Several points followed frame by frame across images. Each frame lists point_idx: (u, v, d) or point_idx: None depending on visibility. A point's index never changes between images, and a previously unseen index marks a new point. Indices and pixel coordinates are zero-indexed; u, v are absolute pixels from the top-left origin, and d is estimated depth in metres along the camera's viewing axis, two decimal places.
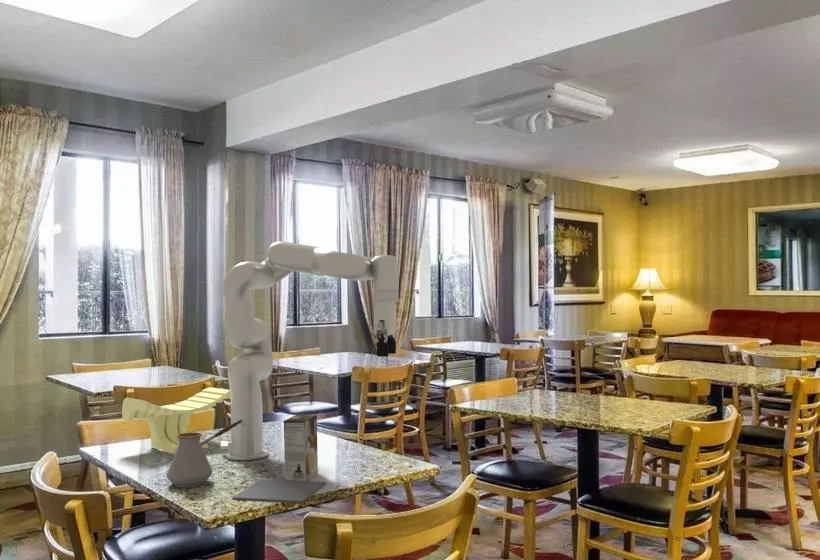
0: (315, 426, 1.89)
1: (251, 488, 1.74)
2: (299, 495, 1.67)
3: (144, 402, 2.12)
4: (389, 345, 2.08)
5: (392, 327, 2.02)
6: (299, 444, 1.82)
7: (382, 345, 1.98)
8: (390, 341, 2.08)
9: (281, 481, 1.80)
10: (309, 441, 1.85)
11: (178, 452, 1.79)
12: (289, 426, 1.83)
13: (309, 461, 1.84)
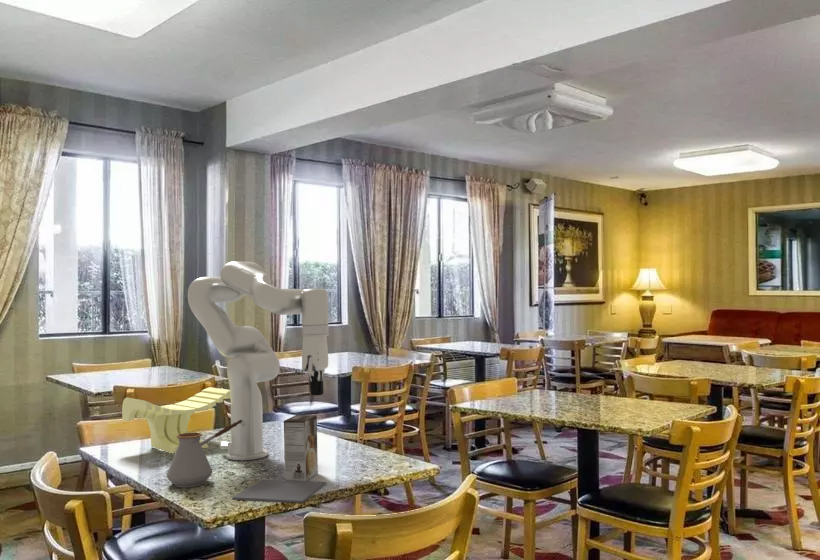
0: (315, 426, 1.89)
1: (251, 488, 1.74)
2: (299, 495, 1.67)
3: (144, 402, 2.12)
4: None
5: (322, 362, 1.97)
6: (299, 444, 1.82)
7: (316, 384, 1.97)
8: None
9: (281, 481, 1.80)
10: (309, 441, 1.85)
11: (178, 452, 1.79)
12: (289, 426, 1.83)
13: (309, 461, 1.84)
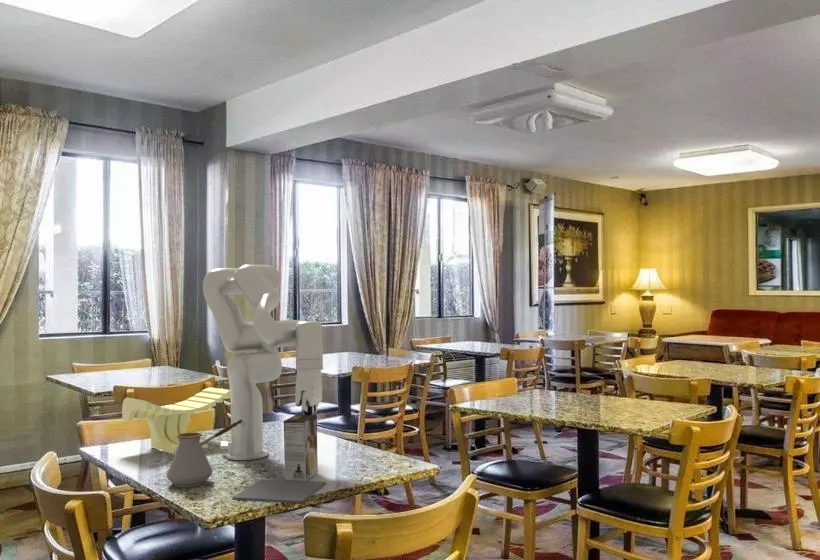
0: (315, 426, 1.89)
1: (251, 488, 1.74)
2: (299, 495, 1.67)
3: (144, 402, 2.12)
4: None
5: (316, 397, 1.92)
6: (299, 444, 1.82)
7: None
8: None
9: (281, 481, 1.80)
10: (309, 441, 1.84)
11: (178, 452, 1.79)
12: (289, 426, 1.83)
13: (309, 461, 1.84)
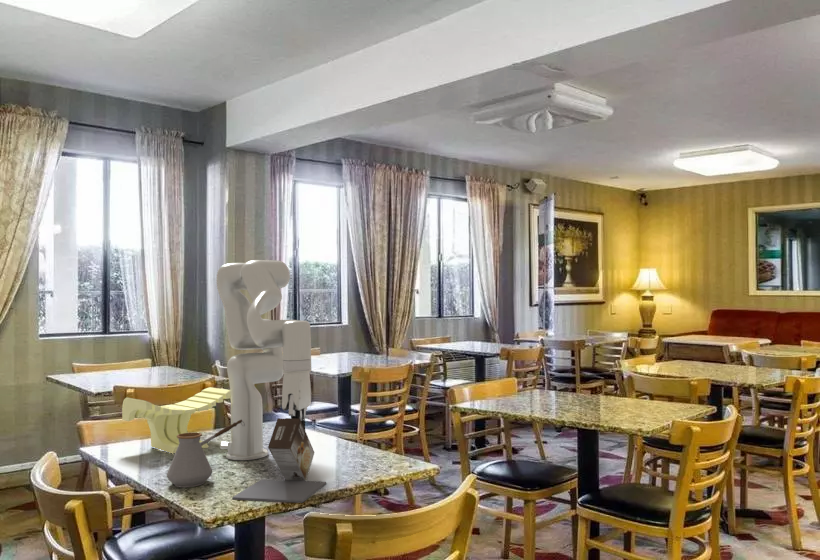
0: (301, 429, 1.78)
1: (251, 488, 1.74)
2: (299, 495, 1.67)
3: (144, 402, 2.12)
4: None
5: (304, 400, 1.83)
6: (290, 461, 1.75)
7: None
8: None
9: (281, 481, 1.80)
10: (300, 451, 1.77)
11: (178, 452, 1.79)
12: (275, 450, 1.73)
13: (304, 463, 1.80)
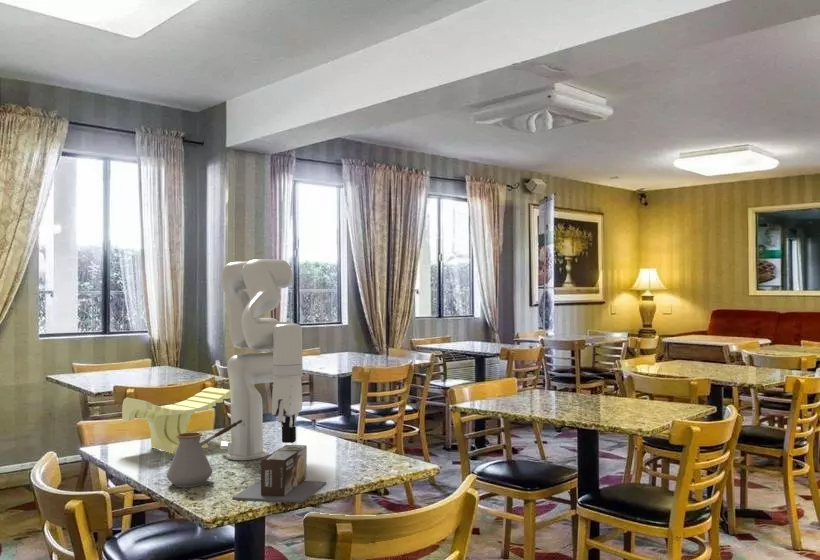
0: (289, 462, 1.69)
1: (251, 488, 1.74)
2: (299, 495, 1.67)
3: (144, 402, 2.12)
4: None
5: (294, 406, 1.77)
6: None
7: (287, 430, 1.77)
8: None
9: None
10: (293, 478, 1.72)
11: (178, 452, 1.79)
12: None
13: (300, 474, 1.77)
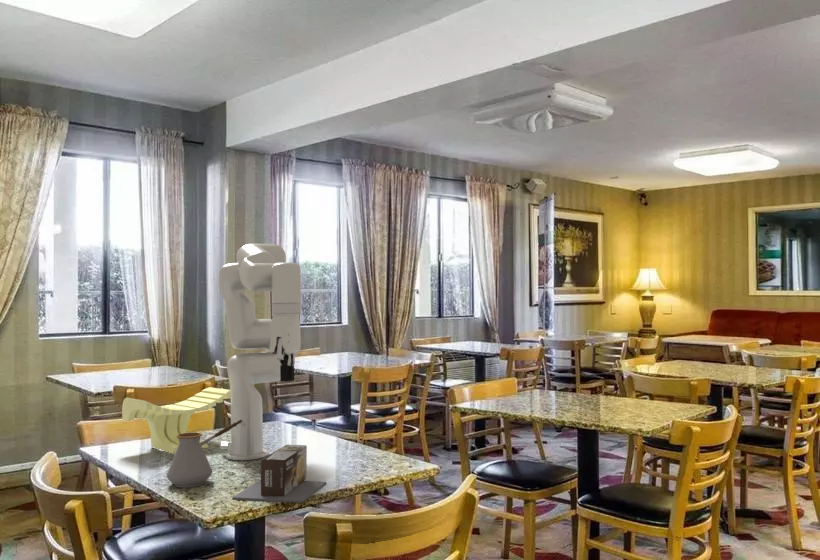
0: (289, 462, 1.69)
1: (251, 488, 1.74)
2: (299, 495, 1.67)
3: (144, 402, 2.12)
4: None
5: (293, 345, 1.77)
6: None
7: (286, 369, 1.77)
8: None
9: None
10: (293, 478, 1.72)
11: (178, 452, 1.79)
12: None
13: (300, 474, 1.77)
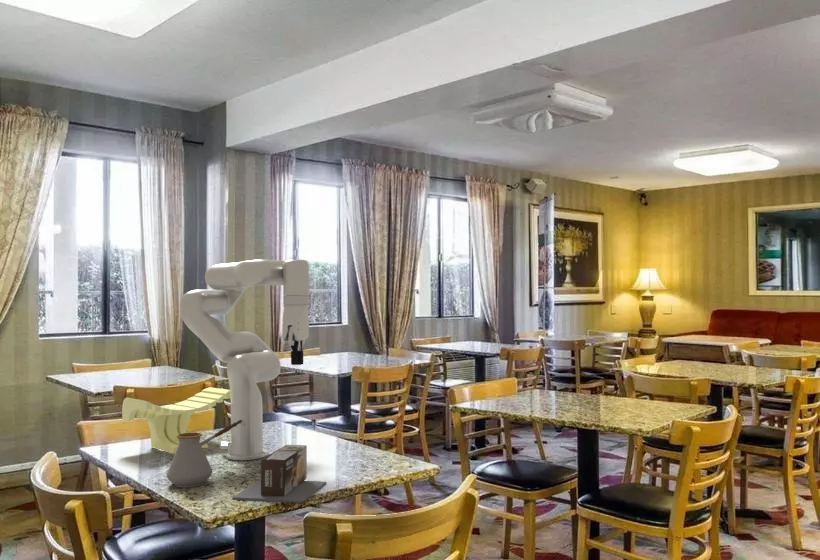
0: (289, 462, 1.69)
1: (251, 488, 1.74)
2: (299, 495, 1.67)
3: (144, 402, 2.12)
4: None
5: (302, 332, 2.00)
6: None
7: (296, 353, 2.00)
8: None
9: None
10: (293, 478, 1.72)
11: (178, 452, 1.79)
12: None
13: (300, 474, 1.77)
